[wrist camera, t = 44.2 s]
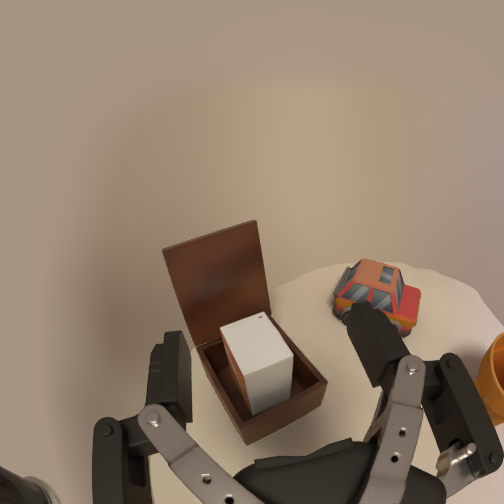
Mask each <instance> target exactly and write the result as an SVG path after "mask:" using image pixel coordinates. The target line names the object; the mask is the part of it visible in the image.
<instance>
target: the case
mask: <svg viewBox="0 0 504 504" xmlns="http://www.w3.org/2000/svg"><path fill="white" fill-rule="evenodd" d="M268 318H269V320H270V321H271V322H272V324H273V325H274V326H275V327H276V329H277V330H278V332H279V333H280V335H281V336H282V338H283V340H284V341H285V343H286V344H287V345H288V347H289V348H290V350H291V351H292V353H293V370H292V383H291V394H290V399H288V400H286V401H285V402H283V403H281V404H279V405H277V406H275V407H273V408H271V409H269V410H267V411H265V412H263V413H260V414H258V415H256V416H252V415H251V413H250V411H249V409H248V407H247V405H246V403H245V401H244V399H243V397H242V395H241V393H240V391H239V389H238V387H237V385H236V383H235V381H234V379H233V378H232V374H231V370H230V366H229V362H228V359H227V355H226V351H225V347H224V343H223V339H222V337H220V338H218V339H215V340H213V341H211V342H208V343H206V344H203V345H201V346H198V347H196V350H197V352H198V355H199V357H200V360H201V362H202V365H203V367H204V370H205V372H206V375H207V377H208V379H209V381H210V383H211V384H212V386H213V388H214V390H215V392H216V394H217V396H218V398H219V399H220V401H221V403H222V405H223V407H224V409H225V410H226V412H227V414H228V416H229V417H230V419H231V421H232V423H233V424H234V426H235V428H236V429H237V431H238V433H239V434H240V436H241V438H242V439H243V441H244V443H245V444H246V445H249V444H251V443H253V442H255V441H257V440H259V439H261V438H263V437H265V436H267V435H269V434H271V433H273V432H275V431H277V430H279V429H281V428H283V427H285V426H286V425H288V424H290V423H292V422H294V421H295V420H297V419H299V418H301V417H302V416H304V415H306V414H307V413H309V412H311V411H312V410H314V409H316V408H317V407H319V406H320V405H321V402H322V399H323V396H324V393H325V390H326V387H327V384H328V381H327V380H326V379H325V378H324V377H323V376H322V375H321V374H320V372H319V371H318V370H317V369H316V368H315V367H314V366H313V365H312V363H311V362H310V361H309V360H308V359H307V358H306V357H305V355H304V354H303V353H302V352H301V351H300V350H299V348H298V347H297V346H296V345H295V344H294V343H293V342H292V340H291V339H290V338H289V337H288V336H287V335H286V333H285V332H284V331H283V330H282V329H281V328H280V326H279V325H278V324H277V323H276V322H275V320H274V319H273V318H272V317H271V316H269V317H268Z"/></svg>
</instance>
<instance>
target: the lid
mask: <svg viewBox="0 0 504 504" xmlns="http://www.w3.org/2000/svg"><path fill="white" fill-rule="evenodd" d="M162 253H163V256H164V259H165V262H166V266H167V269H168V272H169V275H170V278H171V281H172V284H173V287H174V290H175V293H176V296H177V299H178V302H179V304H180V308H181V310H182V313H183V316H184V319H185V321H186V324H187V327H188V329H189V332H190V335H191V337H192V340H193V342H194V345H195V346H199V345H201V344H204V343H206V342H209V341H211V340H214V339H216V338H219V337H221V332H220V327H223V326H225V325H228V324H231V323H234V322H236V321H239V320H242V319H244V318H247V317H250V316H253V315H255V314H258V313H261V312H265V314H266V315H267V316H269V315H271V309H270V302H269V296H268V290H267V283H266V277H265V270H264V264H263V258H262V251H261V245H260V239H259V234H258V227H257V221H256V220H251V221H248V222H245V223H241V224H238V225H235V226H232V227H229V228H226V229H222V230H219V231H216V232H213V233H210V234H207V235H204V236H200V237H197V238H194V239H191V240H188V241H185V242H182V243H179V244H176V245H173V246H170V247H167V248H164V249H162Z"/></svg>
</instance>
